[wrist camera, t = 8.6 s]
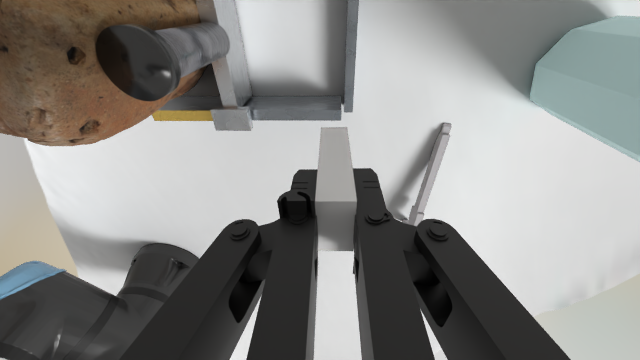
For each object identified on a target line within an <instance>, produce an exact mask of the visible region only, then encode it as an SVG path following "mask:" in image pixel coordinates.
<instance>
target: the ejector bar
mask: <svg viewBox="0 0 640 360" xmlns="http://www.w3.org/2000/svg"><path fill="white" fill-rule="evenodd" d="M195 1H196V5H197V9H198V12H199V16H200V20H201V23H198V24H192V25H186V26H180V27H174V28H168V29H162V30H156V31H153V30H152V29H150V28H148V27H146V26H143V25H139V24H124V25H115V26H110V27H107V28H105V29H104V30H102V31H101V33H100V34H99V36H98V38H97V41H96V53H97V57H98V60H99V63H100V65H101V67H102V69H103V71H104V72H105V74H106V75H107V77H108V78H109V79H110V80H111V82H112V83H113V84H114V85H115V86H116V87H118V88H119V89H120V90H121V91H123V92H124V93H126V94H127V95H129V96H131V97H133V98H135V99H138V100H142V101H156V100H159V99H161V98H163V97H165V96H166V95H168V94H170V93H172V92H173V91H174V90H175V89H176V88H177V87H178V85H179V83H180V79H181V78H182V77H184V76H186V75H188V74H190V73H192V72H194V71H196V70H198V69H200V68H202V67H204V66H206V65H208V64H210V63H212V66H213V70H214V74H215V77H216V81H217V85H218V89H219V93H220V97H221V100H222V104H223V107H213V108H212V109H210V111H211V115H212V118H213V121H214V125H215V128H216V130H233V131H251V129H252V128H253V124H252V118H251V113H250V108H249V106H244V107H242V105H243V104H244V103H245V102H246V101H247V100H248V99H249V98H250V97H251V96H252V90H251V85H250V79H249V74H248V68H247V63H246V58H245V52H244V47H243V41H242V36H241V30H240V25H239V20H238V14H237V9H236V3H235V0H195Z"/></svg>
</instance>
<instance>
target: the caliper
mask: <svg viewBox="0 0 640 360" xmlns="http://www.w3.org/2000/svg"><path fill="white" fill-rule="evenodd" d="M450 129H451V124H447V123H444V124H443V126H442V129H441V132H440V133H439V135H438V137H437V140H436V142H435V145H434V148H433V151H432V154H431V157H430V160H429V164H428V167H427V170H426V173H425V176H424V179H423V182H422V185H421V188H420V191H419V194H418V197H417V200H416V203H415V206H412V209H411V212H410V216H409V220H406V219H403V220H402V222H403V223H406V224H410V225H414V226H417V225H418V224H419V223H420V222H421V221H422V220H423V217H424V213H423V212H424V210H425V207H426V204H427V201H428V198H429V195H430V192H431V190H432V187H433V184H434V181H435V178H436V175H437V172H438V170H439V167H440V164H441V161H442V158H443V155H444V152H445V149H446V147H447V144H448V141H449V138H450V135H449V132H450Z"/></svg>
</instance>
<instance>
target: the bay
mask: <svg viewBox="0 0 640 360" xmlns="http://www.w3.org/2000/svg"><path fill="white" fill-rule="evenodd" d="M358 6H359V0H347V27H346V56H345V85H344V112H352V111H353V94H354V76H355V58H356V41H357V23H358ZM244 106H249V108H250V113H251V118H252V120H341V96H251V97H250V98H249V99H248V100H247V101H246V102H245V103H244V104H243V105H242V107H244ZM213 107H223V104H222V100H221V97H220V96H203V97H176V98H174V99H172V100H169V101H168V102H167V103H166V104H165V105H164V106H163V107H161V108H159V110H157V111H156V112H155V113H153V114H152V116H153V118H154V120H155V121H213V118H212V115H211V111H210V109H212V108H213Z"/></svg>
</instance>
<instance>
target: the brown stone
mask: <svg viewBox="0 0 640 360" xmlns="http://www.w3.org/2000/svg"><path fill="white" fill-rule="evenodd" d="M198 23H201V20H200V16H199V12H198V9H197V5H196V1H195V0H0V133H3V134H7V135H13V136H17V137H23V138H28V140H29V141H31V142H33V143H36V144H41V145H47V146H75V145H82V144H92V143H96V142H98V141H100V140H104V139H107V138H109V137H112V136H113V135H115V134H117V133H119V132H121V131H123V130H126V129H128V128H130V127H132V126H134V125H136V124H137V123H139V122H141V121H143V120H144V119H146V118H147V117H149V116H150V115H152V114H153V113H155V112H156V111H157V110H159V108H161V107H163V106H164V105H165V104H166V103H167V102H168V101H169V100H172V99H174V98H176V97H179V96H181V95H182V94H184V93H186V92H187V91H189V90H190V89H191V88H193V87H194V86H195V85H196V84H197V82H198V80H199V79H200V77H201V75H202V74H203V72H204V70H205V69H206V66H207V65H206V66H204V67H202V68H200V69H198V70H196V71H194V72H192V73H190V74H188V75H186V76H184V77H182V78H181V79H180V83H179V85H178V87H177V88H176V89H175V90H174V91H173V92H172V93H170V94H168V95H166V96H165V97H163V98H161V99H159V100H156V101H142V100H138V99H135V98H133V97H131V96H129V95H127V94H126V93H124V92H123V91H121V90H120V89H119V88H118V87H116V86H115V85H114V84H113V83H112V82H111V80H110V79H109V78H108V77H107V75H106V74H105V72H104V71H103V69H102V67H101V65H100V63H99V60H98V57H97V53H96V41H97V38H98V36H99V34H100V33H101V31H102V30H104V29H105V28H107V27H110V26H115V25H124V24H139V25H143V26H146V27H148V28H150V29H152V30H153V31H156V30H162V29H168V28H174V27H180V26H186V25H192V24H198Z"/></svg>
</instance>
